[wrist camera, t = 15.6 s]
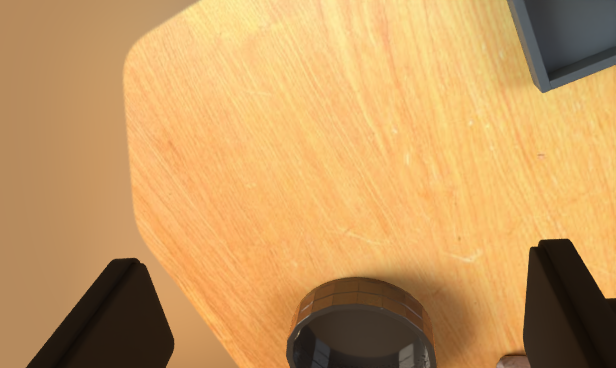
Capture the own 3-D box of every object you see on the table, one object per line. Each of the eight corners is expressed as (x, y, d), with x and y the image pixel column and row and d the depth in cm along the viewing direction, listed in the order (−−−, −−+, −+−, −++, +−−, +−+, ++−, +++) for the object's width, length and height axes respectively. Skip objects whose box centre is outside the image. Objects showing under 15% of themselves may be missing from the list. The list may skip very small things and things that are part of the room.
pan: (274, 348, 48) (266, 377, 45) (325, 255, 42) (320, 281, 39) (392, 397, 49) (392, 428, 46) (460, 313, 42) (466, 343, 39)
